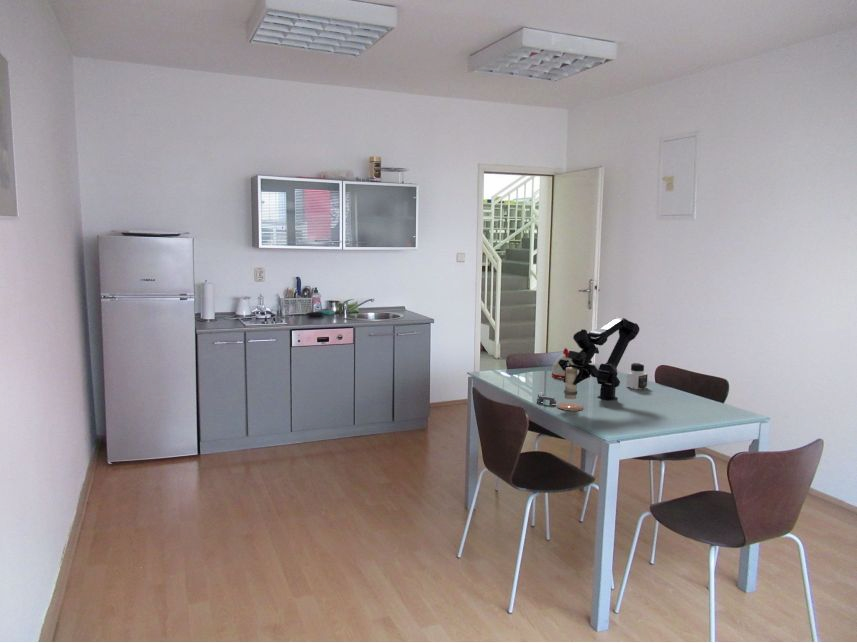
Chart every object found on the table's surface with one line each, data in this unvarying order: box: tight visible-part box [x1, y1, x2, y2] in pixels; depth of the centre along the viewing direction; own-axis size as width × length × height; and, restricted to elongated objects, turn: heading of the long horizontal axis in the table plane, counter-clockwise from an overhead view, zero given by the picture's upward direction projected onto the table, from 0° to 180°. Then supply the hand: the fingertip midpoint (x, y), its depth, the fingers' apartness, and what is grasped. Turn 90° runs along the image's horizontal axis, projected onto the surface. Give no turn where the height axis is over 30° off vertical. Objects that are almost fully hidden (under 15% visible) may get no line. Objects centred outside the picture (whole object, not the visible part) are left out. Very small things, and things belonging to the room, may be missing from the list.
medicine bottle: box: [625, 362, 649, 390], centre depth 315 cm, size 7×7×12 cm
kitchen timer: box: [551, 347, 579, 379], centre depth 339 cm, size 14×14×15 cm
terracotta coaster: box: [556, 402, 584, 412], centre depth 278 cm, size 11×11×1 cm
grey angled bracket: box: [536, 391, 557, 405], centre depth 286 cm, size 7×13×3 cm, turn 30°
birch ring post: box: [563, 367, 578, 400], centre depth 276 cm, size 6×6×13 cm
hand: (569, 383), depth 275 cm, fingers closed on birch ring post, 5 cm apart
